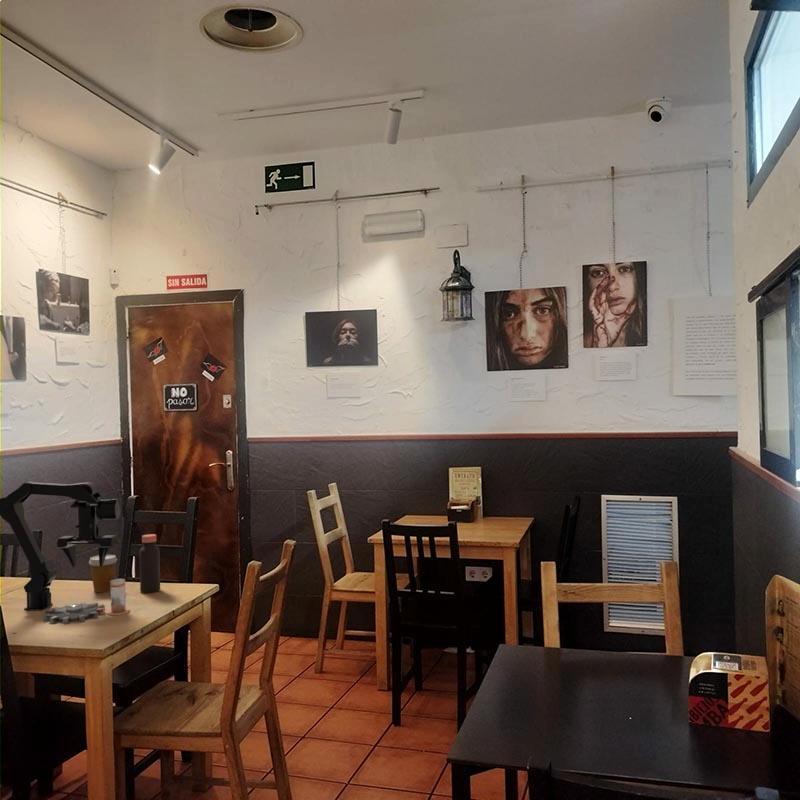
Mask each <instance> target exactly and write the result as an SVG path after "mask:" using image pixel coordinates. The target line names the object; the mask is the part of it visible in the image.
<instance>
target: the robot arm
mask: <svg viewBox="0 0 800 800" xmlns="http://www.w3.org/2000/svg"><path fill="white" fill-rule="evenodd" d="M32 495H37V496H38V495H39V496H58V497H65V498H69V499H72V500H74V501H73V503H72V504H71V505H70V508H72V509H73V508H77V509H76V512H77V518H76V519H77V524H75V528H76V529H77V536H75V535H64V536H61V537H59V538H57V539H56V541H55V545H56V546H55V547H56V548H59V549H60V550H62V551H63V553H64V554H65V556H66V557H67V558H68V559H67V560H68V561H69V562H70V565H72V568H76V566H77V558H76V557H77V556H76V555H77V554H76V548H77V545H86V544H87V545H94V544H95V545H97V544H98V545H99V546H100V547H99V546H98V549H97V550H98V556H99V564H100V567H102V566H103V563H104V560H105V557H106V555H108V553H109V551H110V549H111V548H112V547H114V546H115V545H116V544H119V538H118V536H117V534H116V535H115V534H112V535H111V534H108V535H105V528H104V527H102V526H99V522H98V521H97V518H98V519H99V520H101V521H102V520H105V521H106V520H119V518H120V516H121V507H120V503H119V501H118V500H119V499H118V498H112V499H111V498H110V499H105V498H104V497H103V496H102V494H100V492H99V491H98V487H97V485H96V484H95V483H94V482H91V481H86V482H77V483H70V484H68V483H65V484H64V483H51V482H35V481H32V480H30V481H27V482H24V483H22V484H21V485H20V486H19V487H18V488H16V489H15V490H14V491H12V492H11V493H9V494H8V495H7V496H4V497H1V498H0V517H1V519H2V520H3V521H5V522H6V523H7V524H8V525H9V526H10V528H11V530H12V532H13V534H14V536H15V538H16V540H17V542H18V544H19V546H20V548H21V550H22V552H23V554H24V556H25V558H26V561H27V562H28V574H29V576H30V580H28V582H27V583H26V584H25V585H24V586H23V589H24V591H25V593H26V607H24V609H23V610H24V611H44V610H45V609H47V608H49V607H51V606H52V605H53V603H52V592H51V591H50V586H51V584H52V582H54V580H55V579H56V577H57V575H58V573H57V569H58V567H57V566H56V565H55V563H54V559H53V558H52V557H51V558H48V559H47V558H46V557H45V556H44V555H43V553H42V551H41V549H40V548H39V544H38V543H37V541H36V538H35V537H34V535H33V533H32V531H31V528H30V527H29V525H28V523H27V521H26V519H25V509H24V505H23V504H24V503H25V502H26V501H27V500H28V499H29V498H30V497H31V496H32Z"/></svg>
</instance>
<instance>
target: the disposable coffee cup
mask: <svg viewBox="0 0 800 800" xmlns="http://www.w3.org/2000/svg"><path fill="white" fill-rule="evenodd" d="M89 558H90V559H89V561H88V563H89V565H90V573H91V578H92V586H93V591H94V592H95V593H107V592H111V586H110V581H111V580H114V579H115V573H116V563H117V561H118V558H117V556H116V555H115V554H107V555H106V557H105V560H104V563H103V566H102V567H100V564H99V555H94V556H91V557H89Z"/></svg>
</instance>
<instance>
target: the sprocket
mask: <svg viewBox="0 0 800 800" xmlns="http://www.w3.org/2000/svg"><path fill="white" fill-rule="evenodd" d="M105 607H106V606H105V604H99V603H98V602H92V603H87V602H86V601H85V602H77V603H68V604H65V606H62V607H58V606H55V607H51V610H46V611H45V612H44V613H43V621H44V622H47V621H46V620H48V621H49V623H50V624H55V623H58V622H62V624H69V623H70V622H75V621H76V622H77V621H78V622H85V621H86V619H95V618H98V617H99V615H104V614H105V613H106V612H105V611H106V609H105Z"/></svg>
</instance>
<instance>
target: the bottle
mask: <svg viewBox="0 0 800 800" xmlns="http://www.w3.org/2000/svg"><path fill="white" fill-rule="evenodd" d="M141 542H142V547H141V548H140V549H139V583H140V584H139V585H140V586H139V589H140V592H141V593H143V594H153V593H157V592H160V590H161V563H160V561H161V560H160V559H161V558H160V557H161V555H160V553H161V552H160V551H161V550H160V547H158V545H157V544H156V543H157V534H155V533H152V534H151V533H150V534H144V535H141Z"/></svg>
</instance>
